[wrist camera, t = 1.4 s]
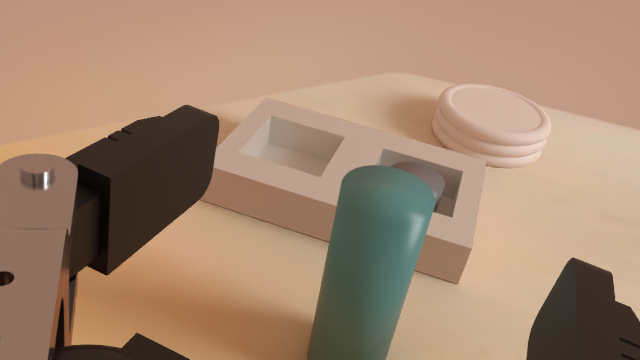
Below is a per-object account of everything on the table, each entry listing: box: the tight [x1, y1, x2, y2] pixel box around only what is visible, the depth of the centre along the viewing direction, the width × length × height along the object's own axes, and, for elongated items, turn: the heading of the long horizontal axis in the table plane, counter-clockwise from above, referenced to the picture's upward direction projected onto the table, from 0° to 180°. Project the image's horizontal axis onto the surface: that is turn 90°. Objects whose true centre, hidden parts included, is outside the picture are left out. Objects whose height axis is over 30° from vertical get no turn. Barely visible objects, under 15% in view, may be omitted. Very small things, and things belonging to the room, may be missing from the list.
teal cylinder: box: [307, 165, 435, 360], centre depth 27 cm, size 4×4×11 cm
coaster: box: [432, 84, 551, 168], centre depth 52 cm, size 10×10×4 cm
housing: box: [200, 98, 486, 284], centre depth 41 cm, size 18×11×3 cm, turn 71°
